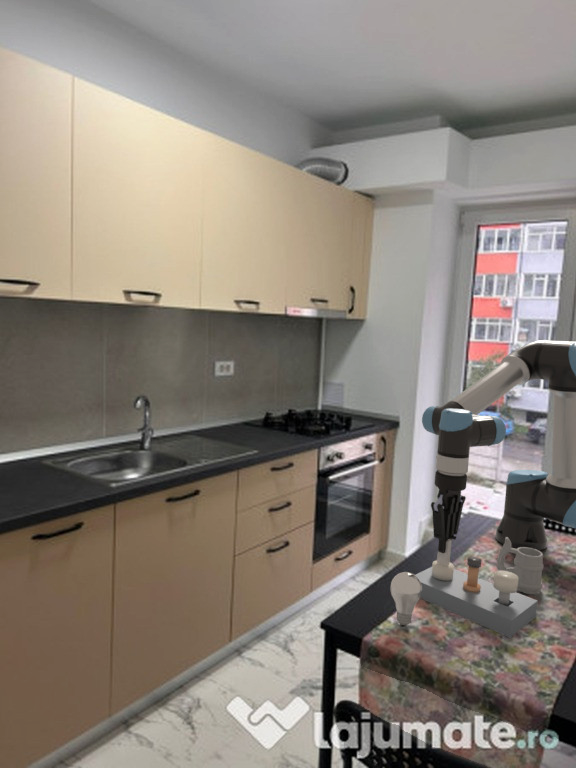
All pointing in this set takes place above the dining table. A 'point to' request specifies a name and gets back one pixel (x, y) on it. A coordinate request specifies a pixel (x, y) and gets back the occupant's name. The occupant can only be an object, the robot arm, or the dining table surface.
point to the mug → (523, 567)
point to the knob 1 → (442, 571)
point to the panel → (478, 602)
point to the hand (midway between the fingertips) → (443, 563)
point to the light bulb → (405, 595)
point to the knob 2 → (505, 585)
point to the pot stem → (472, 575)
